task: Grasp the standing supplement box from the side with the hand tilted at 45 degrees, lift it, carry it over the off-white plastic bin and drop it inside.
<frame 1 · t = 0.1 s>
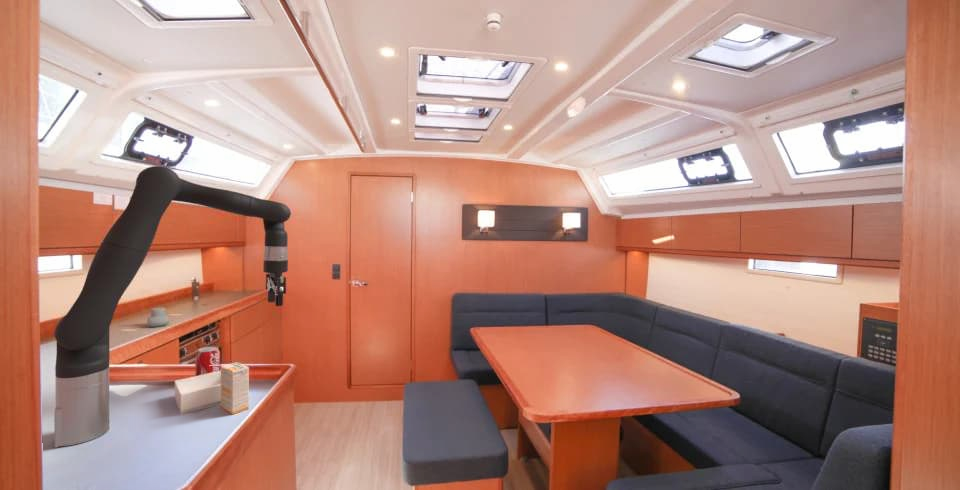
hand: (275, 303, 122), 29 cm above the counter, tool pointing down, fingers open, 8 cm apart
supplement box: (234, 408, 106), on the counter
air freshener: (158, 326, 194), on the counter
bin: (206, 399, 111), on the counter
soda can: (207, 382, 124), on the counter
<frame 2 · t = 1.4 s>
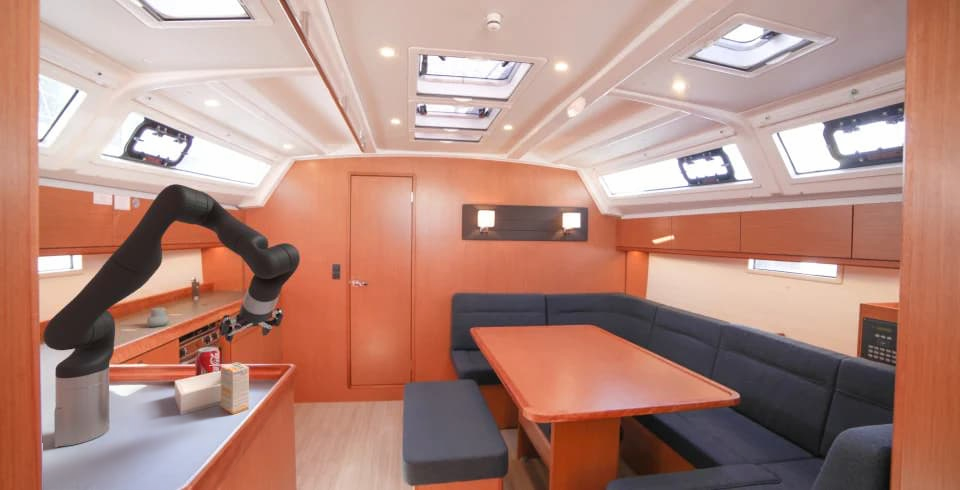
hand: (246, 336, 98), 25 cm above the counter, tool tilted 45°, fingers open, 8 cm apart
nothing on the counter moved.
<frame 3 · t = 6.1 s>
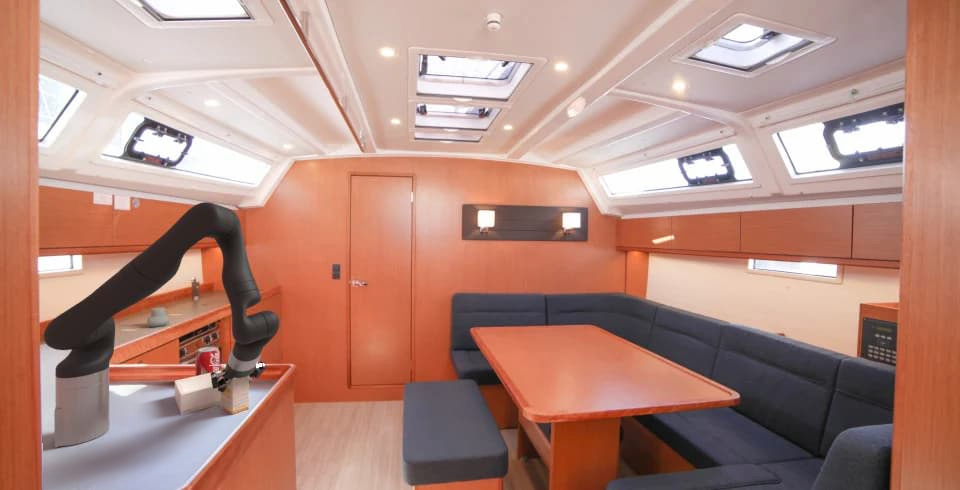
hand: (233, 386, 107), 6 cm above the counter, tool tilted 45°, fingers closed on supplement box, 5 cm apart
supplement box: (234, 408, 106), on the counter, touching gripper
everything else where it was.
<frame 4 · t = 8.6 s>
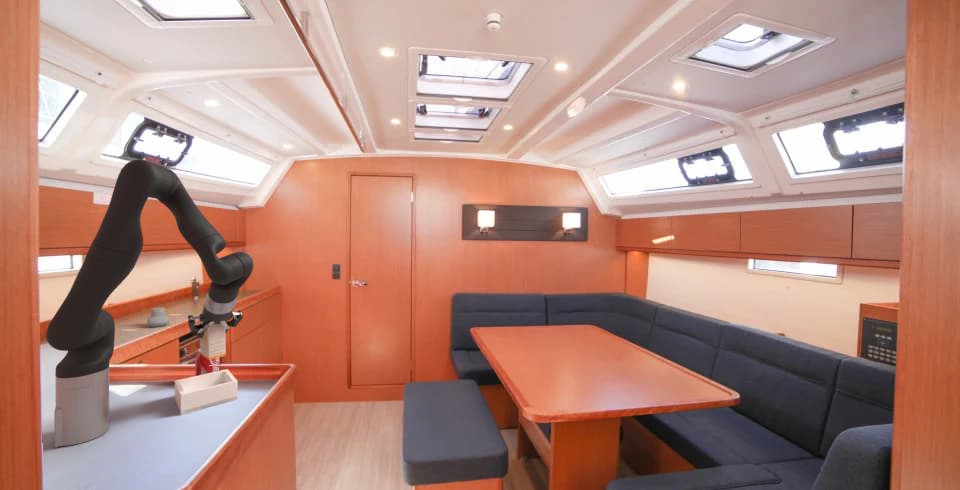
hand: (211, 333, 110), 22 cm above the counter, tool tilted 45°, fingers closed on supplement box, 5 cm apart
supplement box: (213, 355, 109), point 15 cm above the counter, touching gripper
everything else where it was.
when the fingers open (10 cm above the counter, at t = 11.2 s): supplement box drops 2 cm, resting on bin.
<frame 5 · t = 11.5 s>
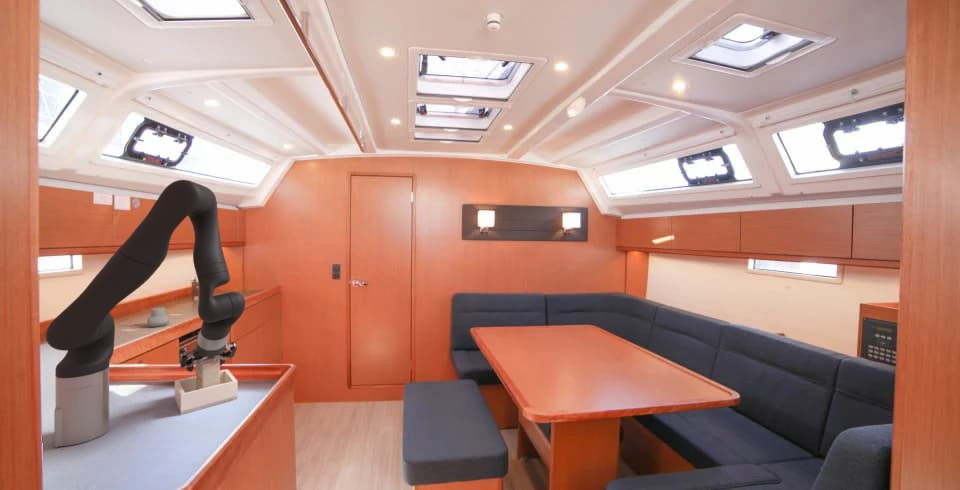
hand: (205, 366, 112), 10 cm above the counter, tool tilted 45°, fingers open, 7 cm apart
supplement box: (208, 396, 111), point 1 cm above the counter, touching bin
everything else where it was.
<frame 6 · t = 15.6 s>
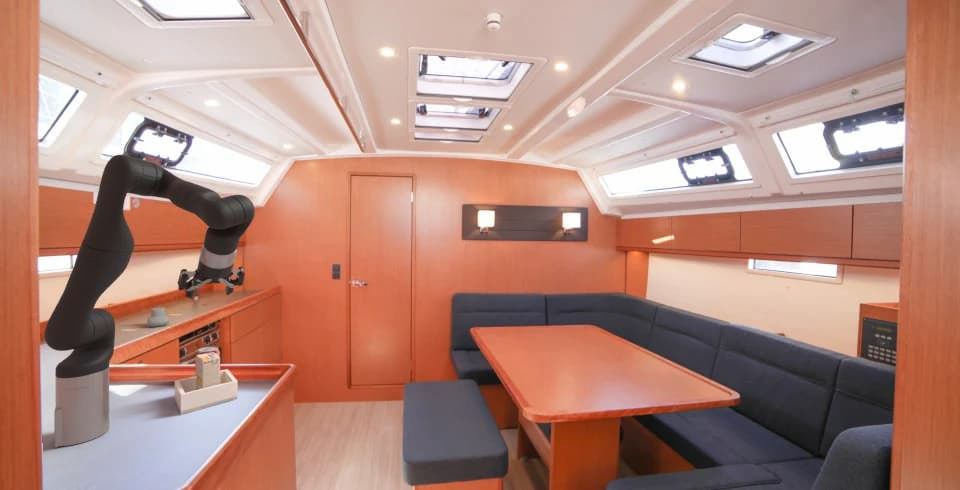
hand: (209, 294, 98), 37 cm above the counter, tool tilted 45°, fingers open, 8 cm apart
nothing on the counter moved.
at the end: supplement box inside the target area on the bin (0.5 cm from its centre), point 0.8 cm above the bin's base; the gripper is holding nothing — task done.
